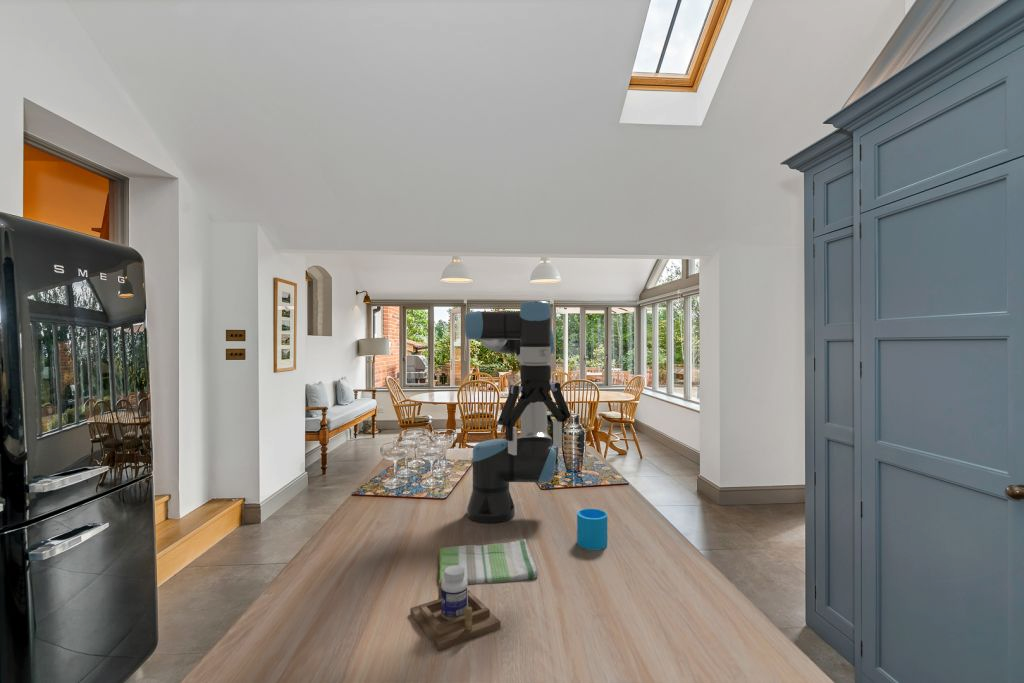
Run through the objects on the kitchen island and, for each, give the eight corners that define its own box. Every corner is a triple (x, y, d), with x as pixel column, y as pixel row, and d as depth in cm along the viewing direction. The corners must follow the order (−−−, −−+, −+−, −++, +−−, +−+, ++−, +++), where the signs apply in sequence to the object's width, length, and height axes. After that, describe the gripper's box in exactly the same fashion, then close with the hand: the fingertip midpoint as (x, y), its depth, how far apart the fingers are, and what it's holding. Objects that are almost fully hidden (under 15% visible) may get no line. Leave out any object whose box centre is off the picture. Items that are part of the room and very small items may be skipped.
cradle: (410, 613, 99) (410, 588, 99) (467, 595, 107) (466, 571, 106) (439, 650, 88) (438, 622, 88) (500, 627, 95) (500, 600, 95)
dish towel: (538, 581, 113) (538, 566, 113) (438, 589, 110) (438, 573, 110) (526, 550, 130) (526, 536, 130) (439, 555, 127) (439, 542, 127)
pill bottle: (442, 607, 100) (441, 564, 100) (467, 606, 100) (467, 563, 100) (440, 622, 94) (440, 576, 94) (467, 621, 95) (467, 575, 95)
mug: (611, 548, 130) (611, 518, 130) (582, 551, 129) (582, 520, 129) (596, 531, 142) (596, 503, 142) (569, 533, 140) (569, 504, 140)
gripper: (499, 366, 110) (500, 460, 110) (584, 363, 123) (584, 446, 124) (483, 365, 116) (483, 453, 116) (565, 361, 130) (565, 441, 130)
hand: (535, 450), depth 120 cm, fingers open, 13 cm apart
